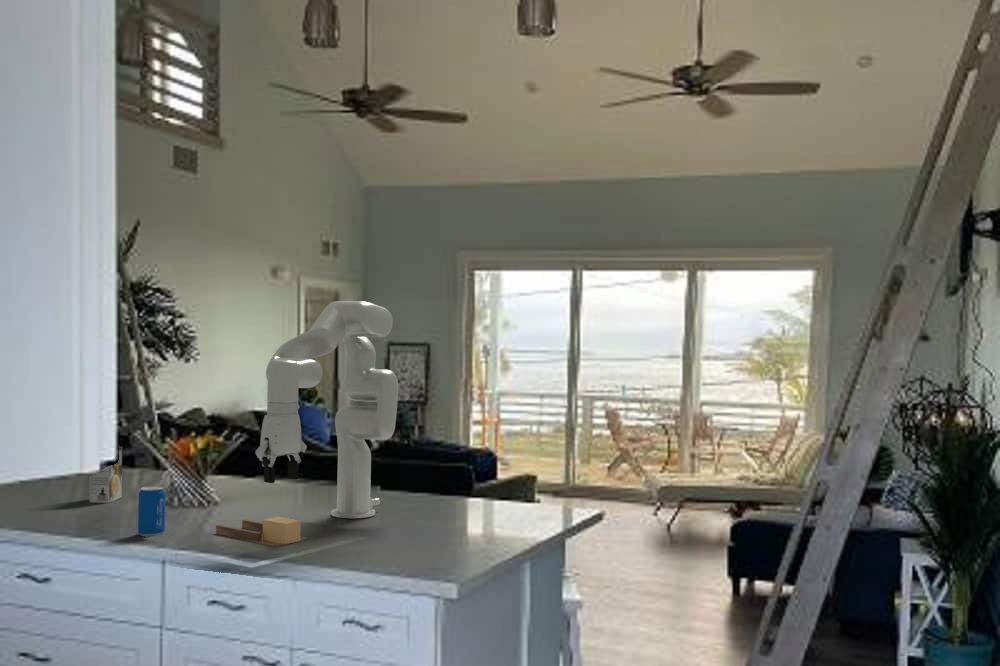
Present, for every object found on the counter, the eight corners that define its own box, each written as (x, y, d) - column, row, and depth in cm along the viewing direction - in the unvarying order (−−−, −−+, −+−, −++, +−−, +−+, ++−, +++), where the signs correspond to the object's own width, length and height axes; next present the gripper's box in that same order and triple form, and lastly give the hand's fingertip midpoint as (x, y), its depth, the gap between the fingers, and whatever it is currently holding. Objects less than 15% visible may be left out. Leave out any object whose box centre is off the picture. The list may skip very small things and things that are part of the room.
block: (277, 536, 239) (278, 516, 239) (300, 540, 235) (300, 520, 235) (262, 539, 235) (262, 519, 235) (285, 544, 230) (285, 523, 230)
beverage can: (148, 538, 238) (149, 490, 238) (132, 535, 242) (133, 488, 242) (170, 534, 244) (171, 487, 244) (153, 531, 247) (154, 485, 247)
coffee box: (101, 497, 295) (102, 445, 295) (122, 497, 294) (123, 446, 294) (88, 502, 285) (89, 449, 285) (109, 503, 285) (110, 449, 285)
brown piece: (248, 530, 250) (248, 519, 250) (308, 541, 238) (308, 529, 238) (212, 537, 241) (213, 526, 241) (273, 550, 229) (274, 537, 229)
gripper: (297, 406, 245) (295, 475, 245) (245, 410, 230) (243, 483, 230) (318, 408, 241) (317, 478, 241) (266, 412, 226) (265, 486, 226)
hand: (281, 480), depth 236 cm, fingers open, 7 cm apart
